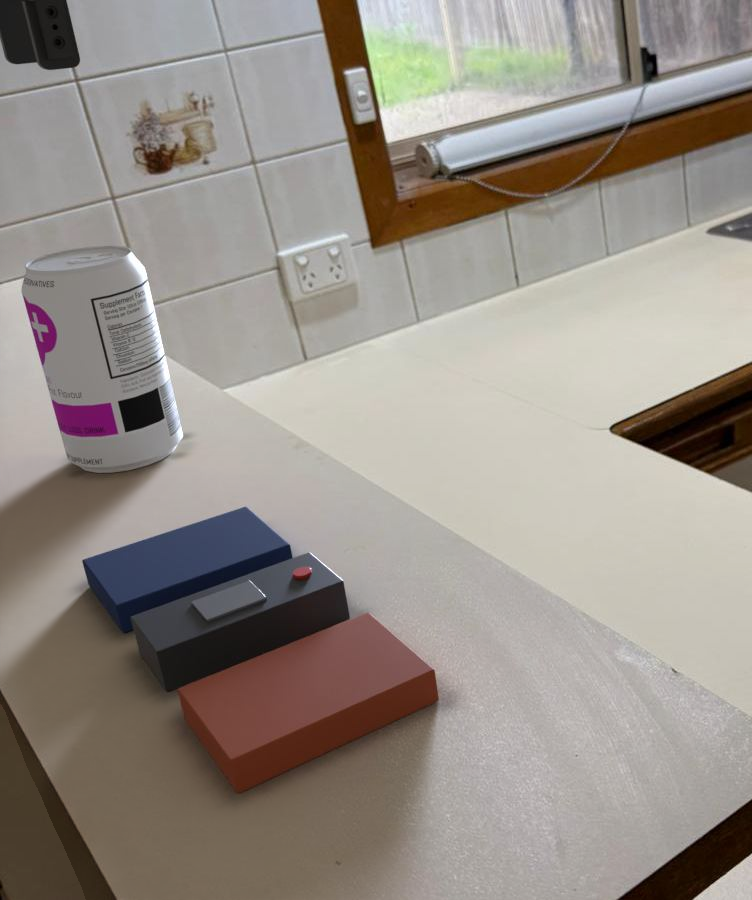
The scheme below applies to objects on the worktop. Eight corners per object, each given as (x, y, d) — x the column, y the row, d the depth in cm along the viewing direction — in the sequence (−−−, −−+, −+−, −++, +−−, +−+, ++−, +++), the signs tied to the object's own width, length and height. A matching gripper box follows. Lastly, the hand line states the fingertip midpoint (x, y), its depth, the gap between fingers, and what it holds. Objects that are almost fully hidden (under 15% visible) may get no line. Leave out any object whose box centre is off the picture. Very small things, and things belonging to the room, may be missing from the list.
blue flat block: (88, 586, 67) (81, 559, 66) (251, 530, 72) (246, 505, 72) (123, 634, 62) (115, 606, 61) (295, 571, 67) (290, 544, 66)
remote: (166, 692, 57) (155, 648, 56) (140, 655, 60) (128, 613, 59) (350, 618, 62) (343, 577, 61) (316, 588, 65) (309, 548, 64)
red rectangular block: (184, 719, 54) (176, 688, 54) (373, 640, 60) (368, 611, 59) (238, 794, 49) (230, 760, 48) (439, 700, 55) (435, 669, 54)
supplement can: (70, 486, 81) (14, 279, 75) (69, 446, 88) (17, 254, 82) (190, 460, 84) (144, 260, 78) (179, 424, 90) (136, 237, 84)
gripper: (-128, -227, 65) (-47, 68, 72) (-91, -274, 55) (0, 78, 61) (11, -224, 69) (77, 56, 76) (71, -267, 59) (141, 63, 65)
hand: (43, 65), depth 69 cm, fingers open, 8 cm apart
